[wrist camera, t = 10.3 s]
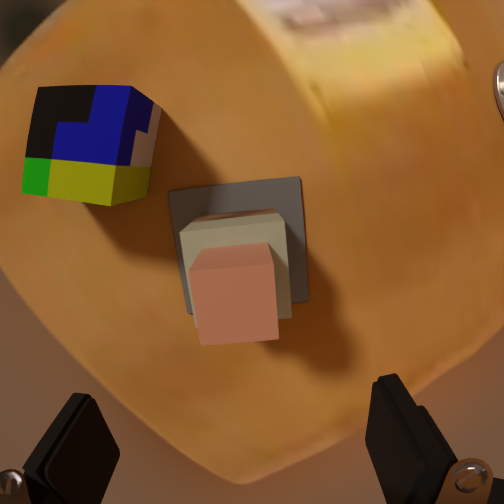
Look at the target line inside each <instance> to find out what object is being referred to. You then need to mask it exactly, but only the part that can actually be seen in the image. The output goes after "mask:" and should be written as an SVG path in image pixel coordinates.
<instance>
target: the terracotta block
mask: <svg viewBox="0 0 504 504" xmlns="http://www.w3.org/2000/svg"><path fill="white" fill-rule="evenodd" d="M188 272H189V279H190V285H191V292H192V298H193V304H194V310H195V316H196V321H197V327H198V333H199V338H200V344H201V345H215V344H230V343H243V342H255V341H266V340H277V339H279V331H278V316H277V303H276V289H275V276H274V263H273V260H272V256H271V253H270V249H269V245H268V242H264V243H253V244H243V245H232V246H222V247H211V248H202V249H201V251H200V253H199V254H198V256H197V258H196V259H195V261H194V263H193V264H192V266H191V268H190V269H189V271H188Z"/></svg>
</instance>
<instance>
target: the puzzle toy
mask: <svg viewBox="0 0 504 504" xmlns="http://www.w3.org/2000/svg"><path fill="white" fill-rule="evenodd" d="M161 111H162V108H161V107H160V106H159V105H157V104H156V103H154V102H153V101H152V100H150V99H149V98H148V97H146V96H145V95H144V94H142V93H141V92H139V91H138V90H137V89H135V88H134V87H132V86H122V85H71V86H49V87H38V90H37V95H36V99H35V104H34V108H33V113H32V118H31V123H30V129H29V135H28V141H27V148H26V155H25V163H24V171H23V181H22V193H24V194H32V195H39V196H46V197H52V198H59V199H66V200H73V201H79V202H86V203H93V204H99V205H106V206H114V205H117V204H121V203H125V202H129V201H133V200H137V199H141V198H145V197H147V191H148V184H149V177H150V171H151V165H152V159H153V153H154V147H155V142H156V136H157V131H158V126H159V121H160V116H161Z"/></svg>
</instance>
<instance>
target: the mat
mask: <svg viewBox="0 0 504 504" xmlns="http://www.w3.org/2000/svg"><path fill="white" fill-rule="evenodd" d="M168 196H169V203H170V210H171V217H172V224H173V231H174V238H175V244H176V250H177V257H178V263H179V269H180V274H181V280H182V286H183V291H184V297H185V302H186V307H187V313H188V314H190V313H193V310H192V305H191V300H190V294H189V288H188V283H187V277H186V271H185V265H184V259H183V253H182V246H181V240H180V233H179V232H181V231H182V230H183V229H184V228H185V227H186V226H188V225H189V224H190V223H191V222H192V221H193V220H195V219H196V218H197V217H198V216H202V215H211V214H219V213H228V212H236V211H245V210H254V209H264V208H275V209H276V210H277V212H278V213H279V214H280V216H281V217H282V218H283V220H284V222H285V233H286V244H287V256H288V268H289V281H290V294H291V304H292V303H300V302H308V301H309V294H308V276H307V261H306V246H305V233H304V220H303V208H302V197H301V186H300V177H288V178H277V179H267V180H257V181H248V182H239V183H230V184H222V185H214V186H206V187H198V188H191V189H184V190H177V191H170V192H168Z"/></svg>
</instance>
